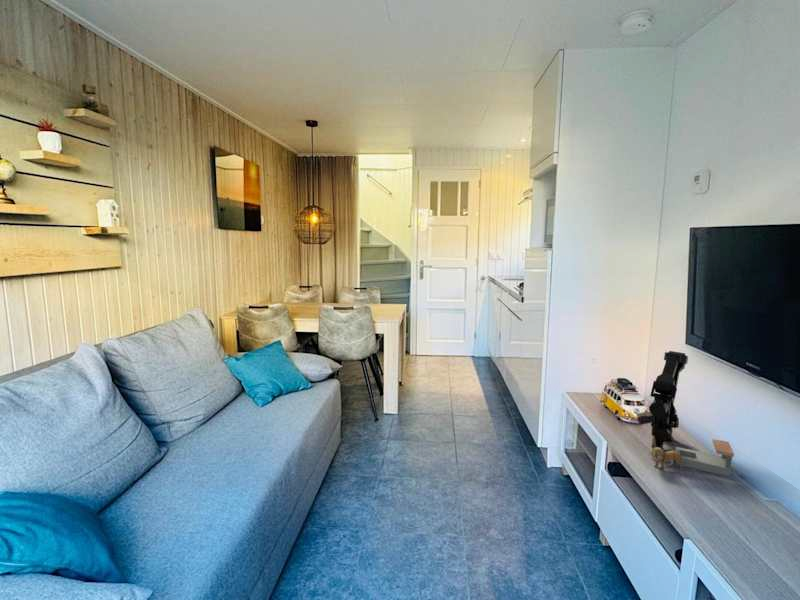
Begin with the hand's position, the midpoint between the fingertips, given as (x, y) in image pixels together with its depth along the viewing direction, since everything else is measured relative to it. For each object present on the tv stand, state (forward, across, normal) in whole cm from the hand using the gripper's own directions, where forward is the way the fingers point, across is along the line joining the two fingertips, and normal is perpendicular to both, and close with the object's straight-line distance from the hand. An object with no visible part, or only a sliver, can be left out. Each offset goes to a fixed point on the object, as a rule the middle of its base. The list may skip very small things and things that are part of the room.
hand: (657, 445), depth 178 cm
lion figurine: (+2, +17, +2) cm, 17 cm away
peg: (+2, 0, 0) cm, 2 cm away
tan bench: (+2, +6, +21) cm, 21 cm away
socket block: (+2, +6, +15) cm, 16 cm away
